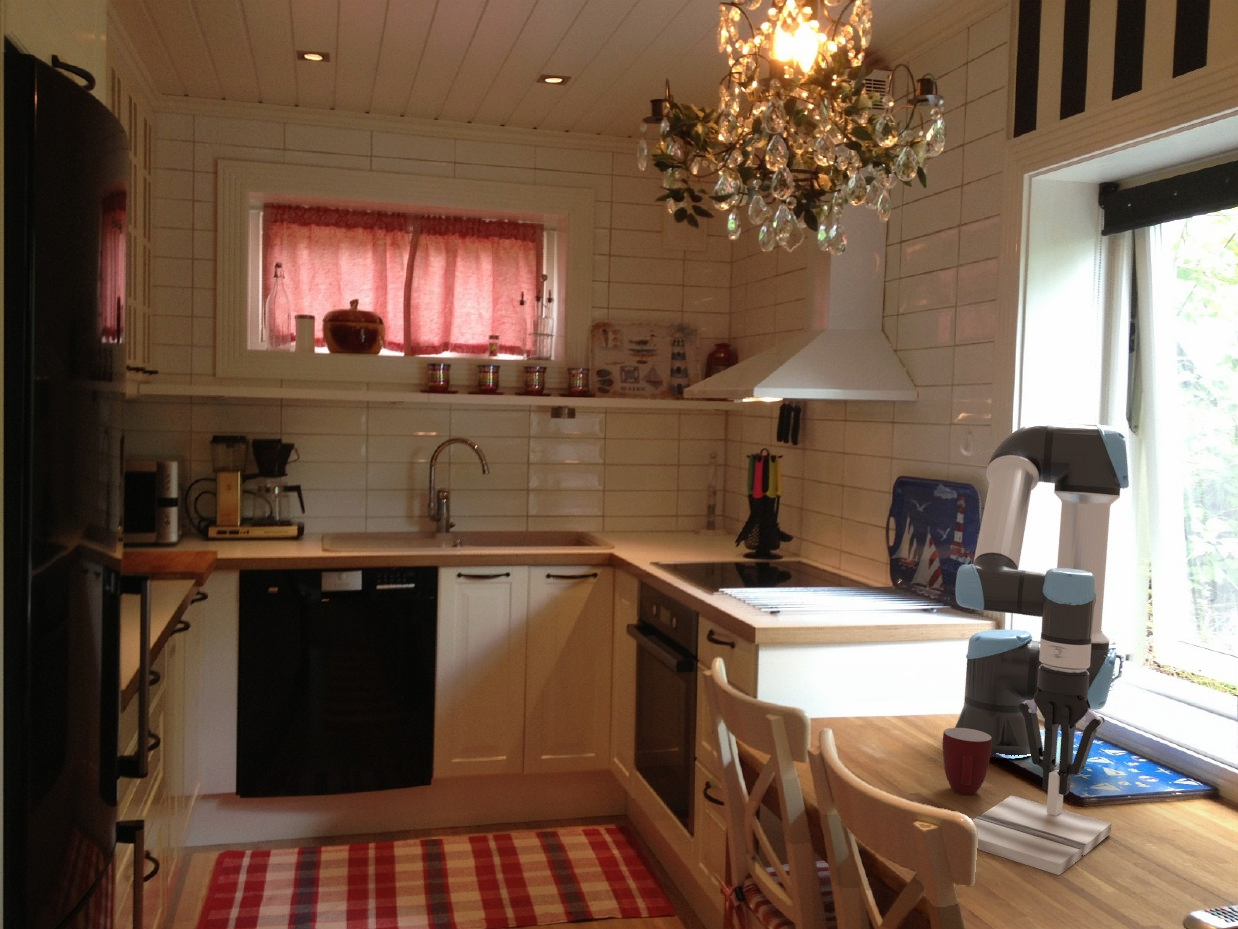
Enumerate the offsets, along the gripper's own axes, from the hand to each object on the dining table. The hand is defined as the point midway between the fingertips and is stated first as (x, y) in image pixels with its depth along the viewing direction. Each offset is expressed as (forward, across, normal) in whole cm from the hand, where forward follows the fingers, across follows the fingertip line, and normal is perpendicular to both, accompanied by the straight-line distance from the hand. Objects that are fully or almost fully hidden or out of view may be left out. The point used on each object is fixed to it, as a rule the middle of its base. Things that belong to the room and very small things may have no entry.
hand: (1054, 812), depth 173 cm
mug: (+2, -16, +3) cm, 17 cm away
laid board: (+2, 0, -15) cm, 15 cm away
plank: (+2, 0, -3) cm, 4 cm away
